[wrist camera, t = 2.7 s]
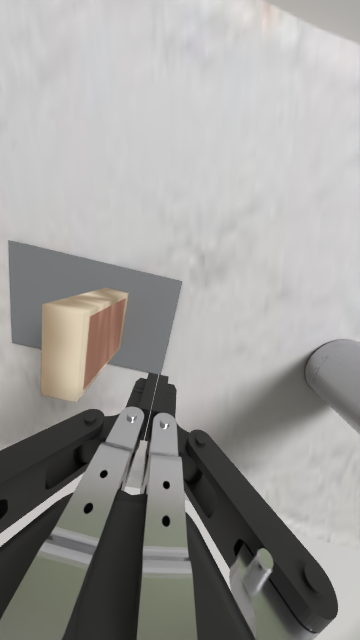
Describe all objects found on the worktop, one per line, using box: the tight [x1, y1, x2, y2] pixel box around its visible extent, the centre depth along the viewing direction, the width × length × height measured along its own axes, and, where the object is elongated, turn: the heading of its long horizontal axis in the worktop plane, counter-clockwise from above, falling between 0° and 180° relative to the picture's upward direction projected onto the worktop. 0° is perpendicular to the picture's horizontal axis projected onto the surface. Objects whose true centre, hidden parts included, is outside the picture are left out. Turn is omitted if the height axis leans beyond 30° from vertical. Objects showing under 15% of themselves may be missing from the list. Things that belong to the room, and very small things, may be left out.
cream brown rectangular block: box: [41, 288, 129, 402], centre depth 20 cm, size 3×8×11 cm, turn 167°
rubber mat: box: [8, 240, 182, 375], centre depth 25 cm, size 22×14×1 cm, turn 77°
